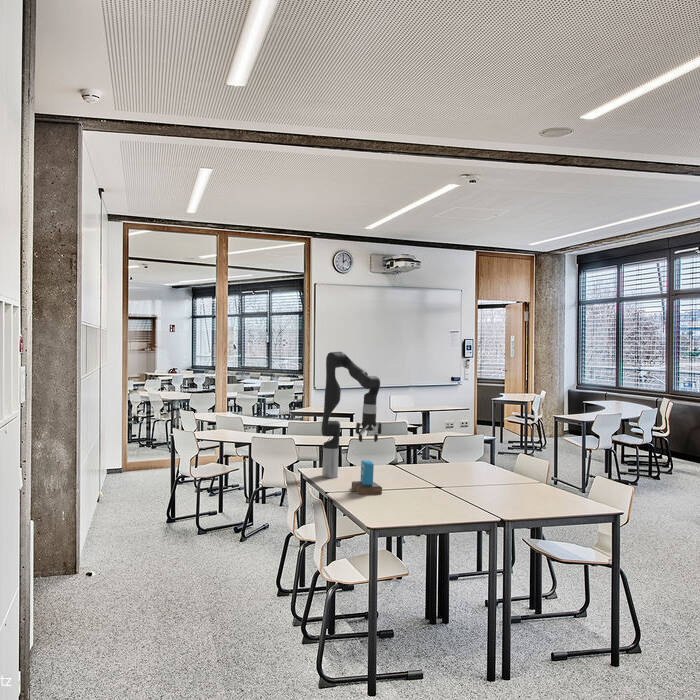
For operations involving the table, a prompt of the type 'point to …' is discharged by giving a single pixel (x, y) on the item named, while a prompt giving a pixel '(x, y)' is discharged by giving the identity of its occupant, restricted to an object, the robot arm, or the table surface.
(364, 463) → the blue rectangular block
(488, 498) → the table surface
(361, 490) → the stand
